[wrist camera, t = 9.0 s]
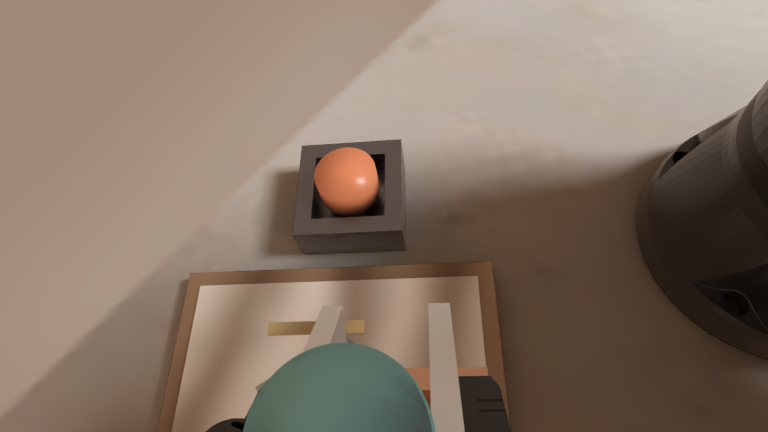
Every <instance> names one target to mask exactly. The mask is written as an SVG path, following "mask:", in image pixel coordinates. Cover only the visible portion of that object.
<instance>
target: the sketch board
mask: <svg viewBox="0 0 768 432" xmlns="http://www.w3.org/2000/svg"><path fill="white" fill-rule="evenodd" d="M428 303H450V310H451V319H452V328H453V336H454V345H455V353H456V362H457V367H488V376H491V377H492V378H493V379H494V380H495V382H496V383H497V384H498V385H499V386H500V389H501V393H502V397H503V402H504V405H505V409H506V413H507V417H508V421H509V425H510V419H509V410H508V401H507V392H506V383H505V374H504V365H503V356H502V347H501V338H500V329H499V320H498V311H497V302H496V293H495V284H494V275H493V266H492V262H468V263H442V264H416V265H390V266H364V267H338V268H312V269H286V270H260V271H234V272H208V273H190V277H189V282H188V286H187V291H186V296H185V301H184V305H183V310H182V315H181V320H180V324H179V329H178V334H177V339H176V343H175V348H174V353H173V358H172V363H171V367H170V372H169V377H168V382H167V386H166V391H165V396H164V401H163V405H162V410H161V415H160V420H159V424H158V429H157V432H206V431H207V430H208V429H209V428H210V427H212V426H213V425H215V424H217V423H219V422H221V421H224V420H228V419H232V418H244V419H245V417H246V415H248V411H249V409H250V407H251V405H252V404H253V401H254V399H255V397H256V395H257V393H258V391H259V390H260V389H261V388H262V387H263V386H264V385H265V383H266V382H267V381H268V379H269V378H270V377H271V376H272V375H273V374H274V373H275V372H276V371H277V370H278V369H279V368H280V367H281V366H283V365H284V364H285V363H286V362H288V361H289V360H291V359H292V358H294V357H295V356H297V355H299V354H301V353H303V350H304V348H305V346H306V343H307V341H308V339H309V336H310V334H311V332H312V330H313V327H314V325H315V323H316V320H317V318H318V316H319V313H320V311H321V309H322V306H343V311H344V321H345V330H346V340H347V343H355V344H360V345H365V346H368V347H371V348H374V349H377V350H379V351H381V352H383V353H385V354H387V355H388V356H390V357H391V358H393V359H394V360H396V361H397V362H398V363H399V364H401V365H402V366H403V367H404V368H430V355H429V313H428ZM510 429H511V428H510Z"/></svg>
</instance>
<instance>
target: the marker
mask: <svg viewBox="0 0 768 432" xmlns="http://www.w3.org/2000/svg"><path fill="white" fill-rule="evenodd" d="M243 432H435V426H434V422H433V418H432V413H431V411H430V408H429V405H428V402H427V400H426V398H425V396H424V394H423V392H422V390H421V388H420V387H419V385H418V384H417V382H416V381H415V379H414V378H413V377H412V376H411V375H410V373H409V372H408V371H407V370H406V369H405V368H404V367H403V366H402V365H401V364H399V363H398V362H397V361H396V360H394V359H393V358H391V357H390V356H388V355H387V354H385V353H383V352H381V351H379V350H377V349H374V348H371V347H368V346H365V345H360V344H355V343H331V344H326V345H321V346H317V347H315V348H312V349H309V350H307V351H305V352H303V353H301V354H299V355H297V356H295V357H294V358H292V359H291V360H289V361H288V362H286V363H285V364H284V365H283V366H281V367H280V368H279V369H278V370H277V371H276V372H275V373H274V374H273V375H272V376H271V377H270V378H269V379H268V381H267V382H266V383H265V385H264V386H263V387H262V389H261V390H260V392H259V393H258V395H257V397H256V399H255V400H254V402H253V404H252V407H251V409H250V411H249V413H248V416H247V419H246V422H245V426H244V429H243Z"/></svg>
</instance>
